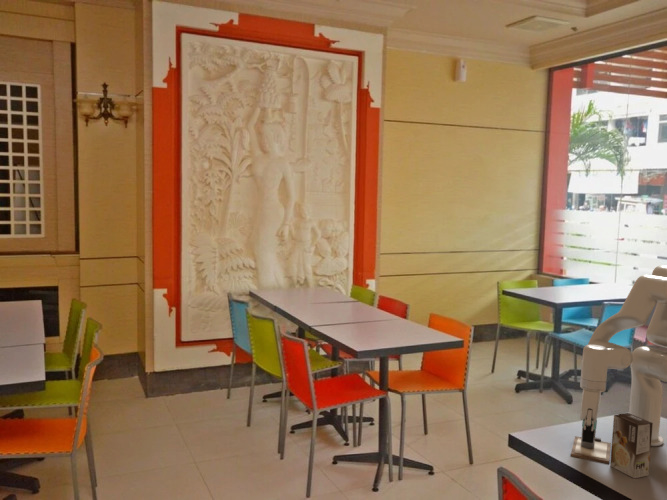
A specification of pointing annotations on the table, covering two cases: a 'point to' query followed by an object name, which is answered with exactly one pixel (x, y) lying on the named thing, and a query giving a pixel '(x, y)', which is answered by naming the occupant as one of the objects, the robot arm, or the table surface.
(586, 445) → the teal capped cylinder
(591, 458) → the clipboard
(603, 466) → the table surface
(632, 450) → the coffee box
